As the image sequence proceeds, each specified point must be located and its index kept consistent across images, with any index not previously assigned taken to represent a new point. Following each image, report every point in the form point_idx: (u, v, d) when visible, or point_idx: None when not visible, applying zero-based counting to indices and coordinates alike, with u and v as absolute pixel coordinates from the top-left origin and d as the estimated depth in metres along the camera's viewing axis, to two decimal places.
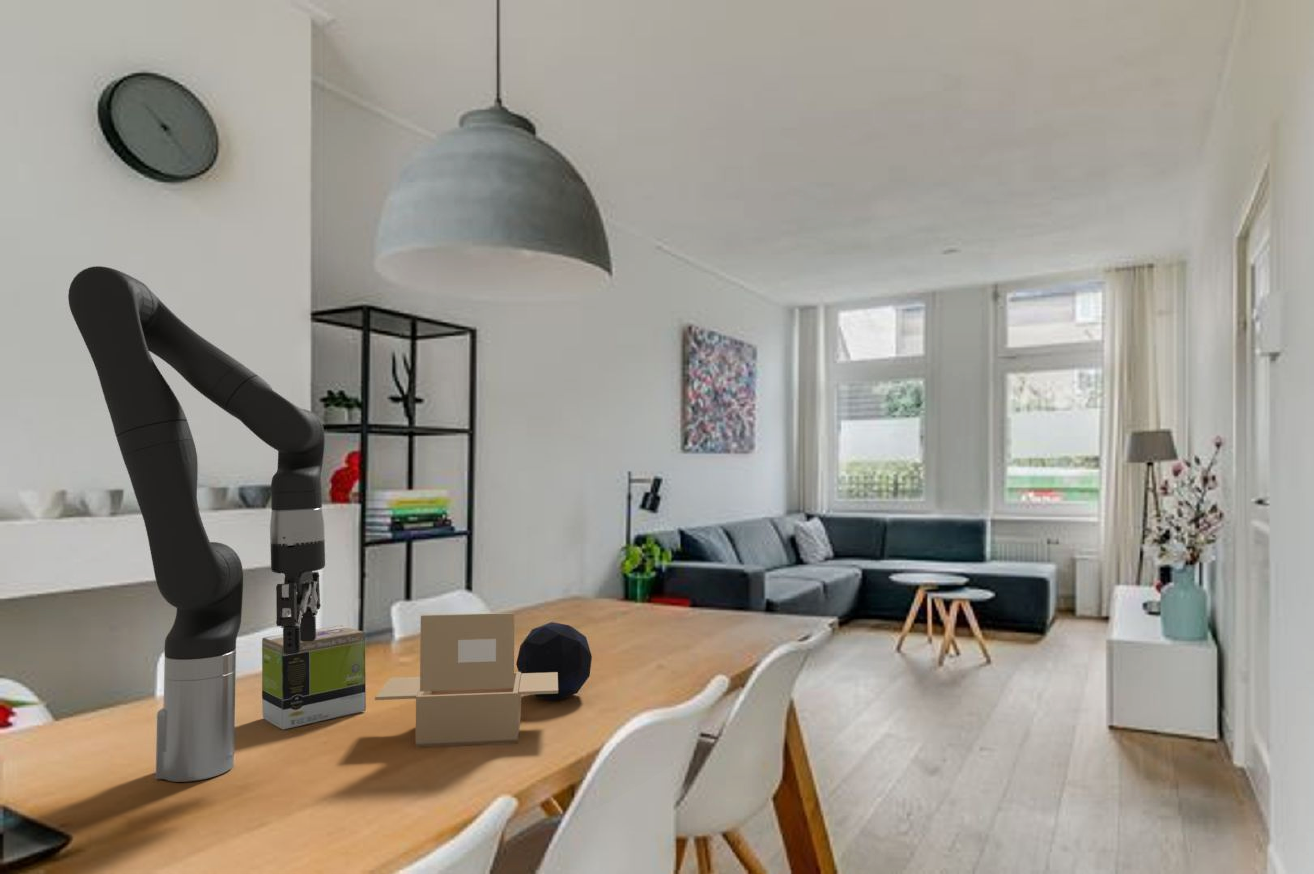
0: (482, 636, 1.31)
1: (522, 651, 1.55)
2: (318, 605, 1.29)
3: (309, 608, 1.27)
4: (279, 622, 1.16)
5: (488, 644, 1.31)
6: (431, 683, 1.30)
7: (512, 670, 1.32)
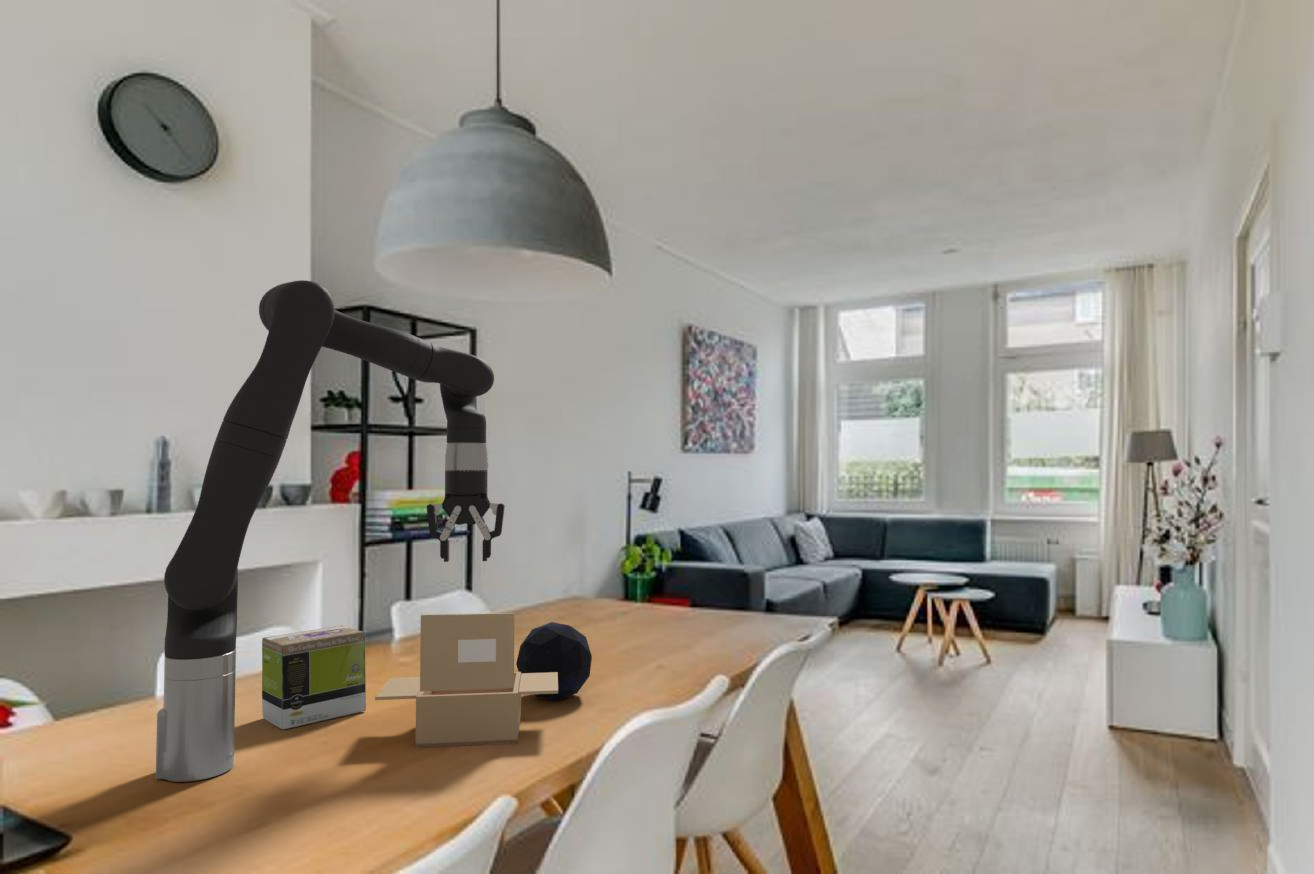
0: (482, 636, 1.31)
1: (522, 651, 1.55)
2: None
3: None
4: None
5: (488, 644, 1.31)
6: (431, 683, 1.30)
7: (512, 670, 1.32)
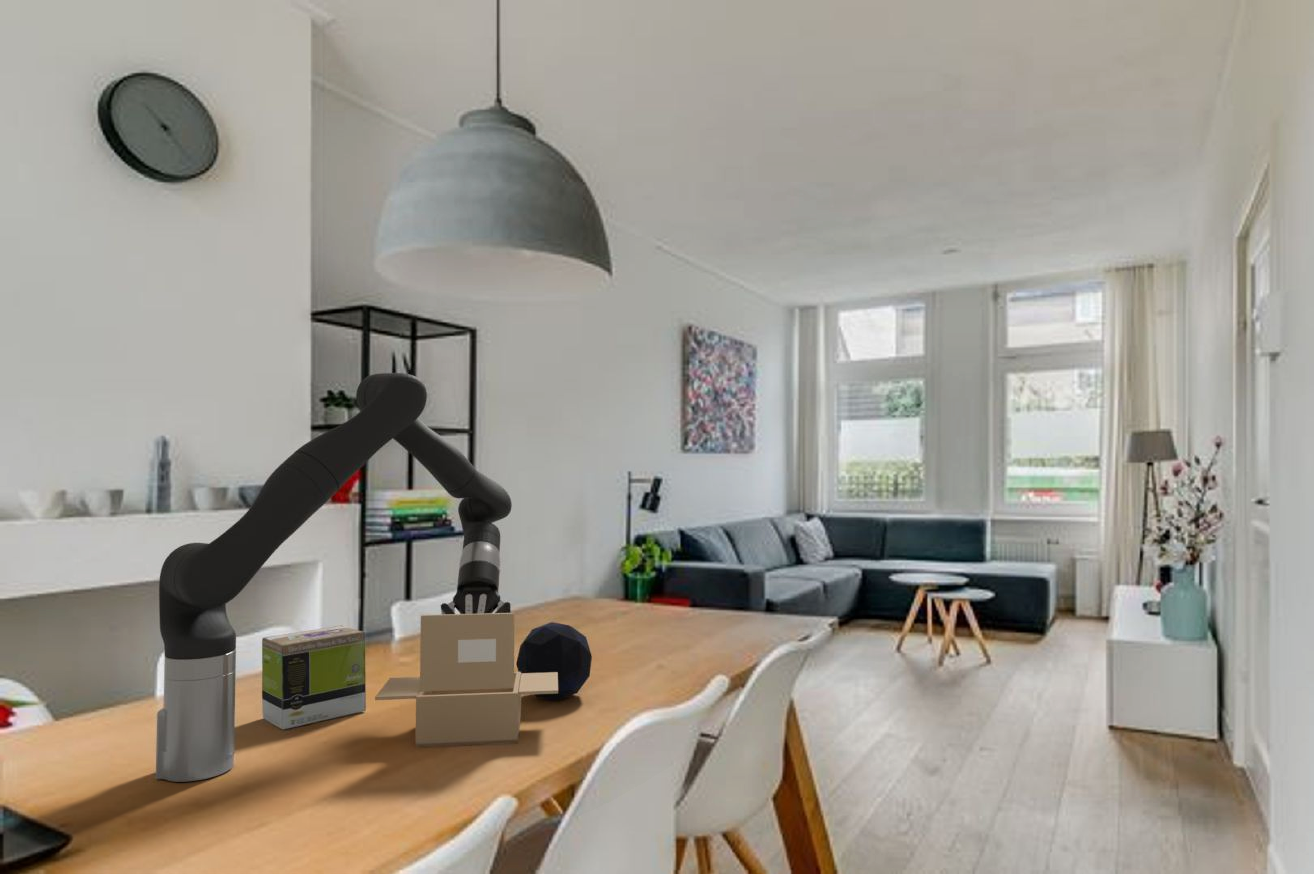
0: (482, 636, 1.31)
1: (522, 651, 1.55)
2: None
3: None
4: None
5: (488, 644, 1.31)
6: (431, 683, 1.30)
7: (512, 670, 1.32)
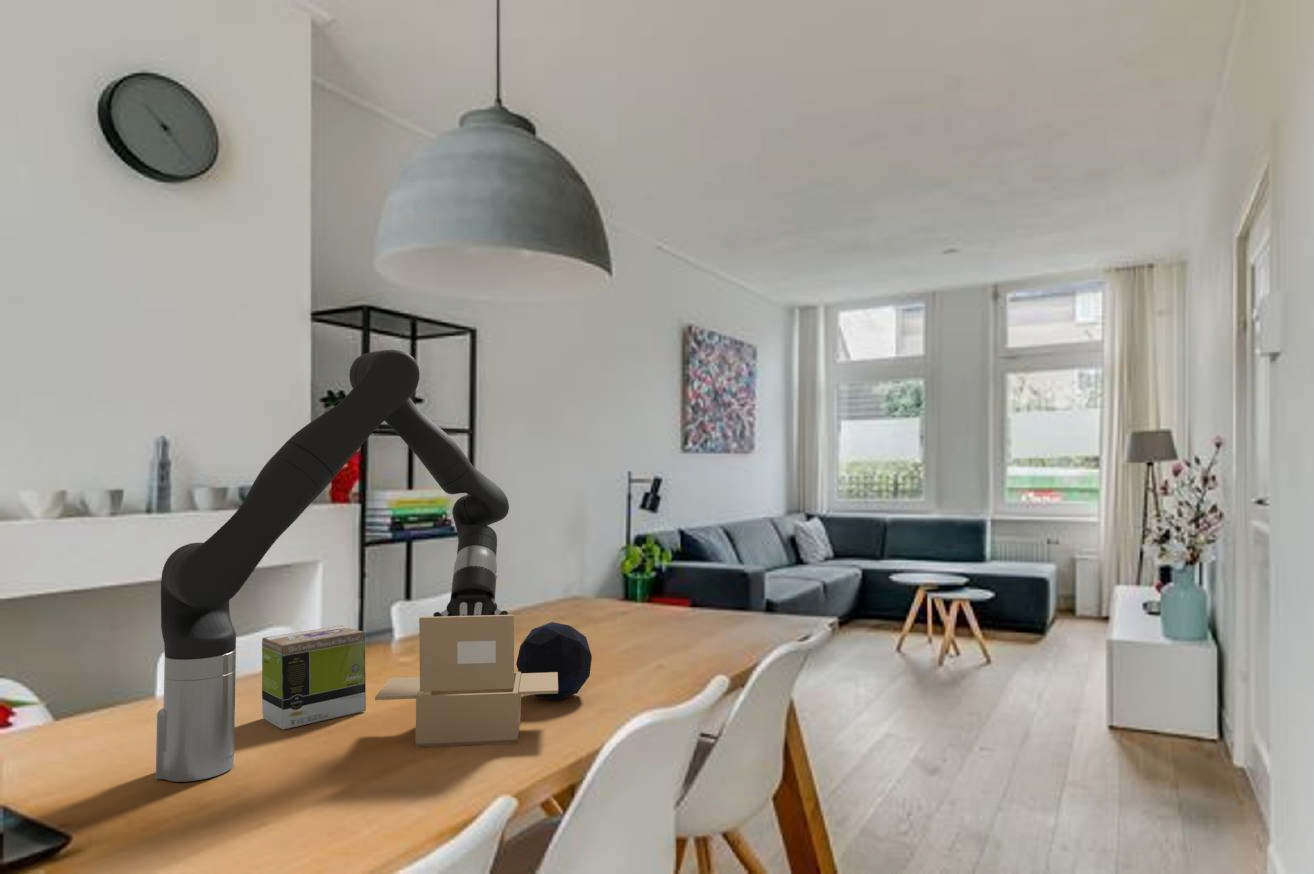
0: (482, 638, 1.30)
1: (522, 651, 1.55)
2: None
3: None
4: None
5: (488, 646, 1.30)
6: (431, 684, 1.30)
7: (512, 671, 1.31)
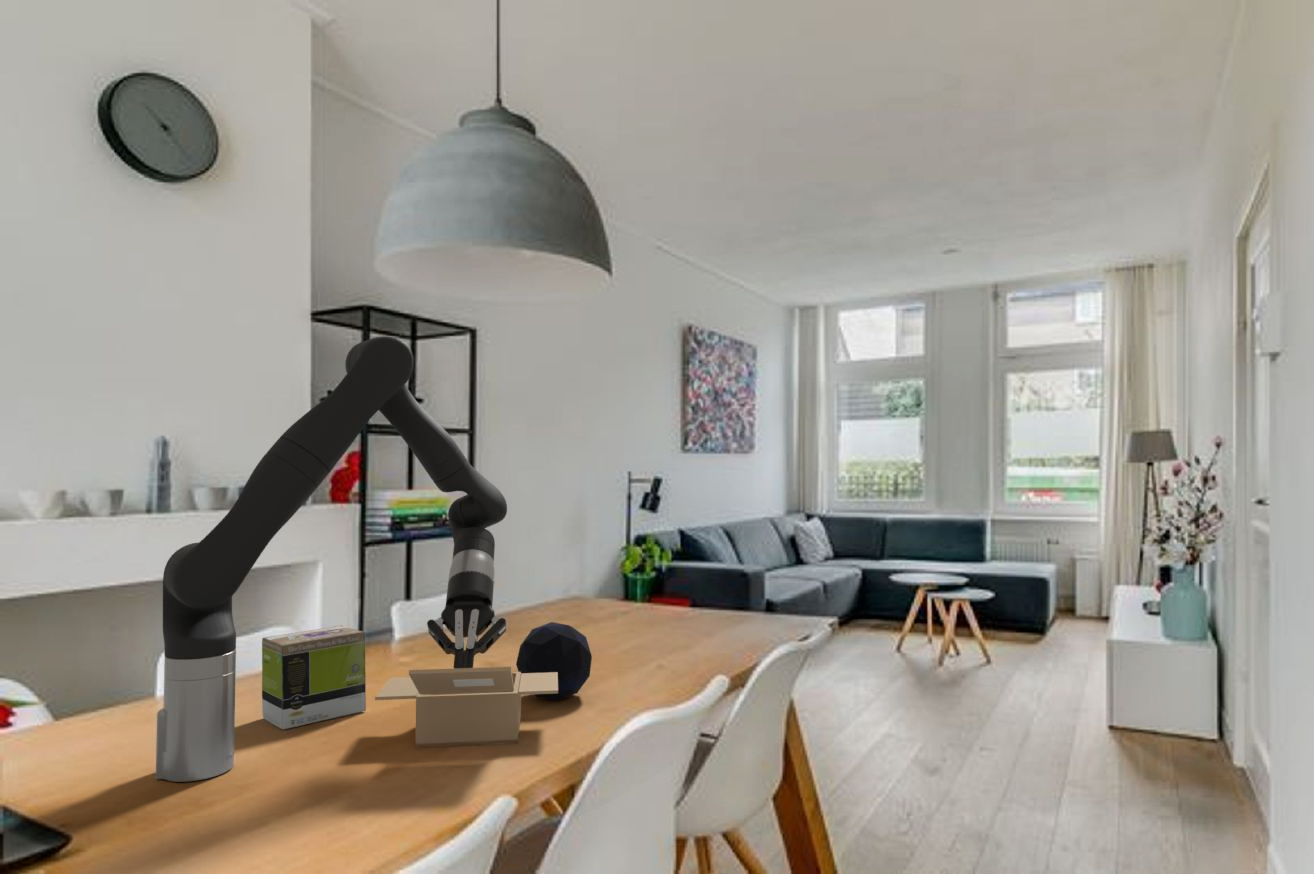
0: (478, 678, 1.24)
1: (522, 651, 1.55)
2: None
3: None
4: (484, 644, 1.28)
5: (485, 681, 1.25)
6: (430, 691, 1.29)
7: (511, 686, 1.29)
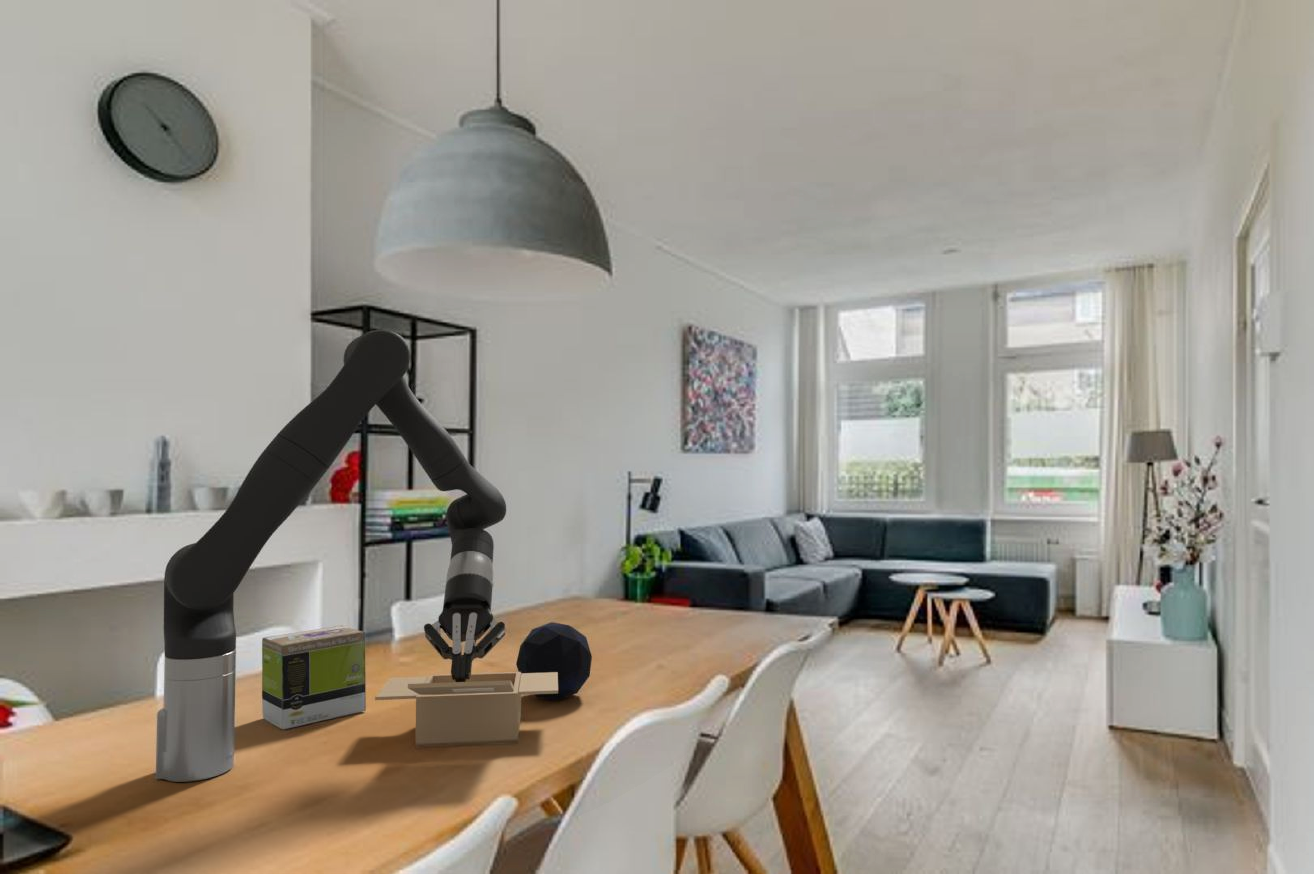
0: (478, 687, 1.23)
1: (522, 651, 1.55)
2: None
3: None
4: (482, 649, 1.24)
5: (484, 689, 1.24)
6: (430, 693, 1.29)
7: (511, 689, 1.29)
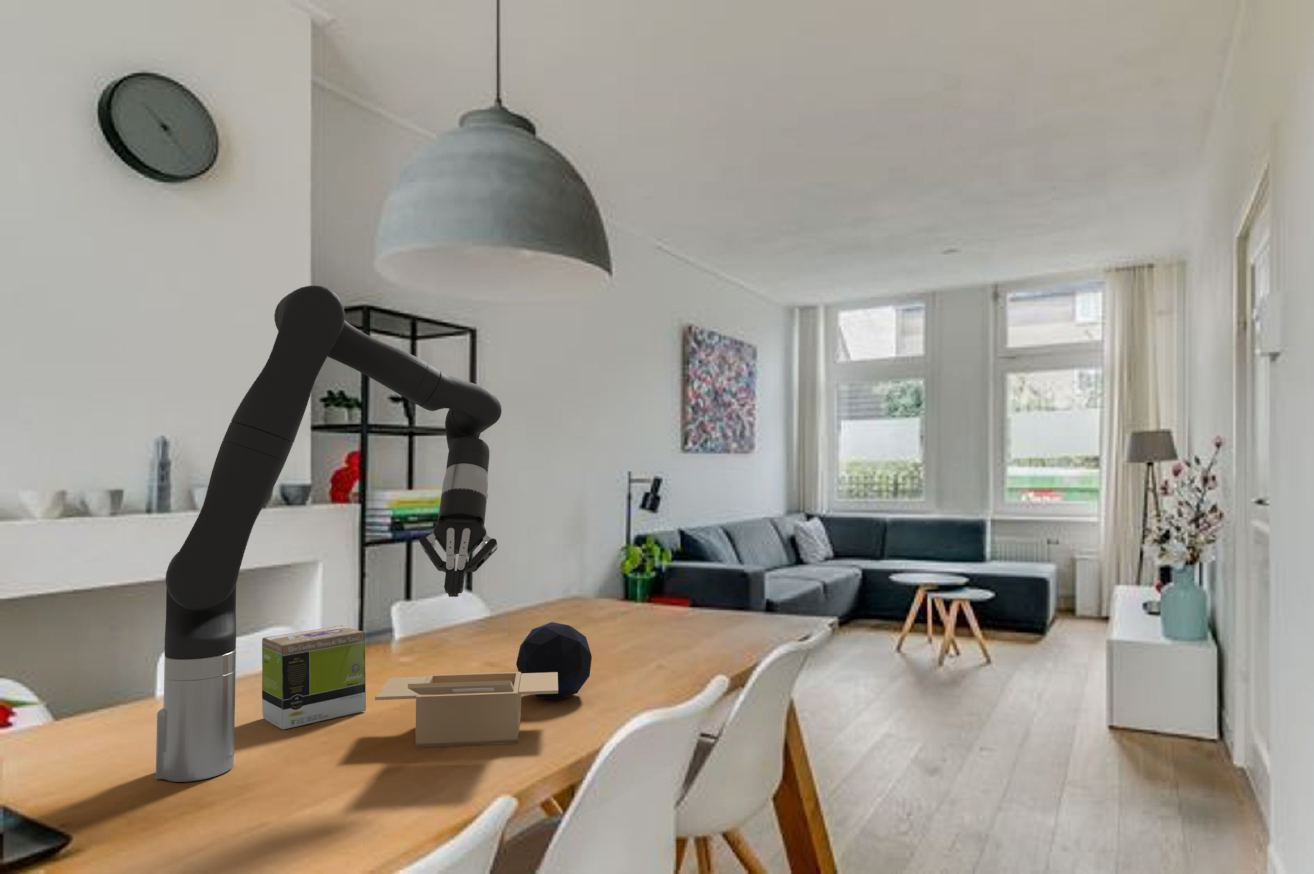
0: (478, 687, 1.23)
1: (522, 651, 1.55)
2: None
3: None
4: (474, 566, 1.30)
5: (484, 689, 1.24)
6: (430, 693, 1.29)
7: (511, 689, 1.29)
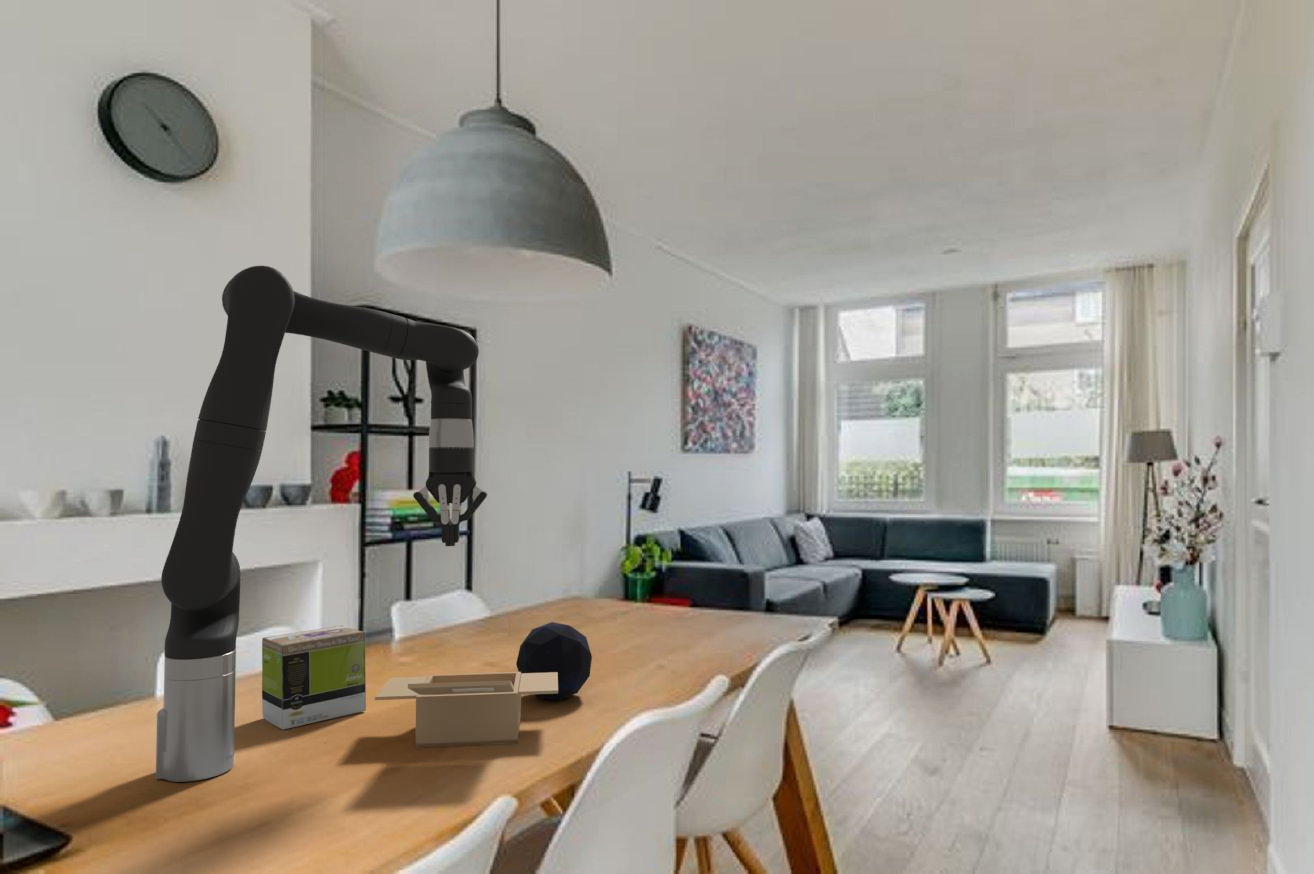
0: (478, 687, 1.23)
1: (522, 651, 1.55)
2: None
3: None
4: (467, 519, 1.41)
5: (484, 689, 1.24)
6: (430, 693, 1.29)
7: (511, 689, 1.29)
